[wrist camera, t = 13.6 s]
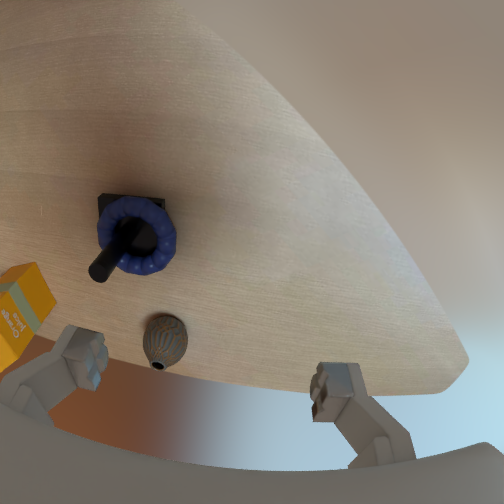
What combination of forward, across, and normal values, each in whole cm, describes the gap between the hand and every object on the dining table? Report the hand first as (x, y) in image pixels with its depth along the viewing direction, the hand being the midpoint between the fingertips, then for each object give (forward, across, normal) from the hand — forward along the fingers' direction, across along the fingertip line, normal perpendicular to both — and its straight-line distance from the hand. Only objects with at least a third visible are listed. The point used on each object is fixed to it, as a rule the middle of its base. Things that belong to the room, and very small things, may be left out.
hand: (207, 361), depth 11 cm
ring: (+26, +13, +10) cm, 31 cm away
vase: (+29, +9, +27) cm, 41 cm away
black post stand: (+29, +14, +10) cm, 34 cm away
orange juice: (+29, +36, +24) cm, 52 cm away
